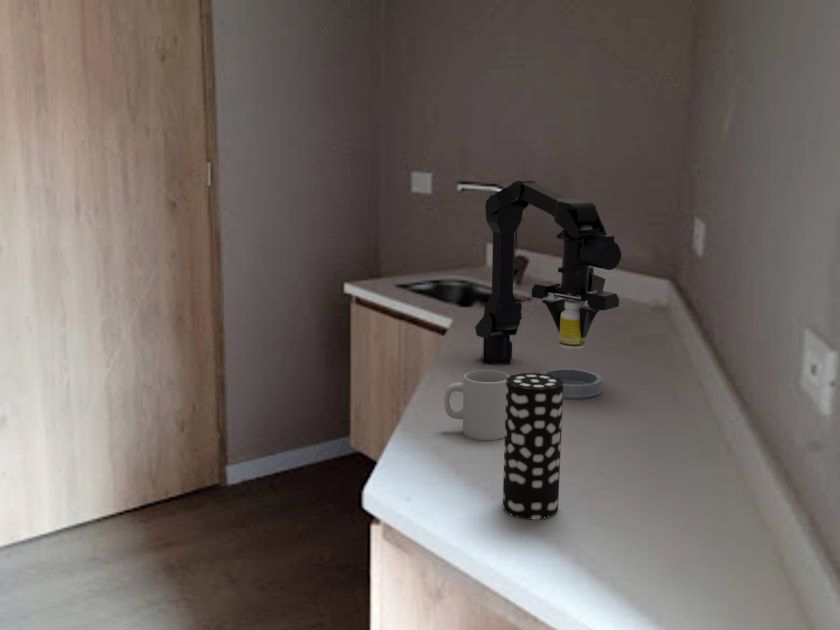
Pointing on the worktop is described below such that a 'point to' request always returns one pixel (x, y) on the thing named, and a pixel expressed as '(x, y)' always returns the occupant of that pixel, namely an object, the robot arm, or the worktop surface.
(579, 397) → the round dish
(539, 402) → the white-spotted black cylinder
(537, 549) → the worktop surface
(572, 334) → the supplement bottle
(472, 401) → the mug
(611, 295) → the robot arm
